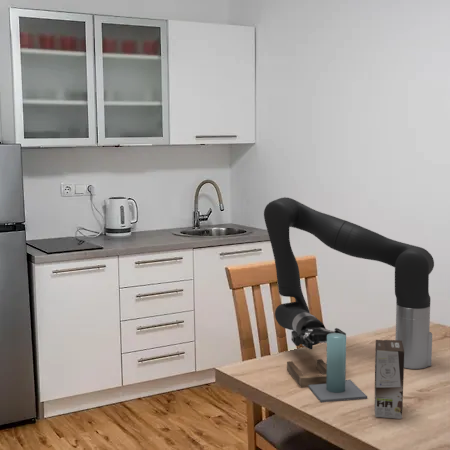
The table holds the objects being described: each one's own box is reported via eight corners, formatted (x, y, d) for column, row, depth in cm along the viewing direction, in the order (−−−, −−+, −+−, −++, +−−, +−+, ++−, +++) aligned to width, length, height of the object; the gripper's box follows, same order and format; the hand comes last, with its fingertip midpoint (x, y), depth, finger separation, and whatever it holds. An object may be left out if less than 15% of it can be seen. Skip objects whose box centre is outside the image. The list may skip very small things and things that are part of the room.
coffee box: (403, 419, 158) (405, 351, 155) (374, 417, 159) (375, 349, 157) (401, 404, 166) (402, 339, 164) (374, 402, 168) (375, 338, 166)
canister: (341, 385, 178) (342, 332, 176) (348, 392, 173) (348, 338, 171) (323, 386, 177) (324, 333, 175) (329, 393, 172) (330, 339, 170)
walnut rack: (321, 367, 193) (321, 359, 192) (337, 384, 180) (337, 375, 179) (286, 370, 191) (287, 361, 191) (300, 387, 178) (300, 378, 178)
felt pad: (350, 381, 182) (350, 379, 182) (367, 398, 170) (367, 396, 170) (306, 384, 180) (306, 382, 180) (320, 402, 168) (320, 399, 168)
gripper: (284, 316, 195) (301, 332, 179) (332, 314, 198) (352, 329, 182) (284, 342, 196) (300, 360, 180) (331, 339, 199) (352, 356, 183)
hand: (326, 344), depth 181 cm, fingers open, 8 cm apart
